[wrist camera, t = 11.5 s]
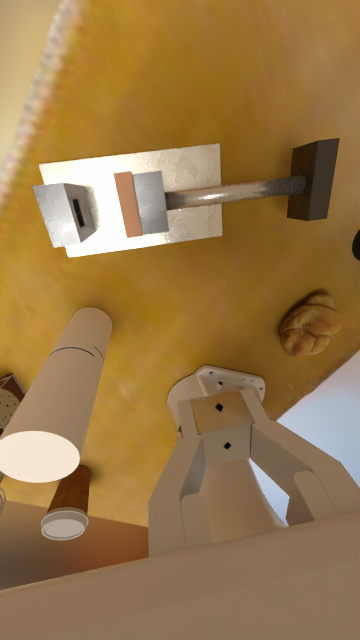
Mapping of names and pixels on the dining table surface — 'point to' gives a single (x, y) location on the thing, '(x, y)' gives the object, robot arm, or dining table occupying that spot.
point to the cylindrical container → (58, 404)
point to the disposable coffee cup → (68, 507)
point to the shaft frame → (150, 184)
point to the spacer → (128, 204)
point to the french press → (0, 477)
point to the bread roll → (310, 326)
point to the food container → (9, 399)
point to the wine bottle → (356, 246)
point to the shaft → (277, 185)
